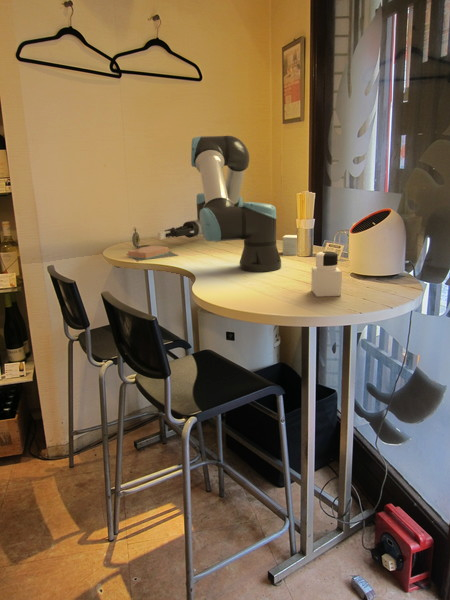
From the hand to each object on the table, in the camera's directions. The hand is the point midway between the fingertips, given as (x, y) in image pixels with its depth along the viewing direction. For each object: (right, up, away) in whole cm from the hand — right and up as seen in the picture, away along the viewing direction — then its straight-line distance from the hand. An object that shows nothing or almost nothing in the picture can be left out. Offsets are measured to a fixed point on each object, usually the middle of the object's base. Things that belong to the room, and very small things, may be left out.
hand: (159, 236), depth 203 cm
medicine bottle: (+58, -26, -67) cm, 92 cm away
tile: (0, -6, +1) cm, 6 cm away
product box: (+56, -9, -10) cm, 57 cm away
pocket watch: (-10, -4, +15) cm, 18 cm away
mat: (-3, -9, -3) cm, 10 cm away
